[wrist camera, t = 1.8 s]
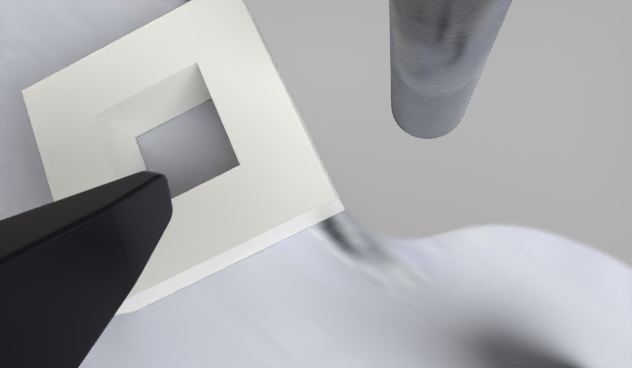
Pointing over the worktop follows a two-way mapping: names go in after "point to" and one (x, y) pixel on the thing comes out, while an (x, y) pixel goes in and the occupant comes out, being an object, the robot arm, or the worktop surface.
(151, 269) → the hole block
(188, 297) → the worktop surface
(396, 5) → the long pin
